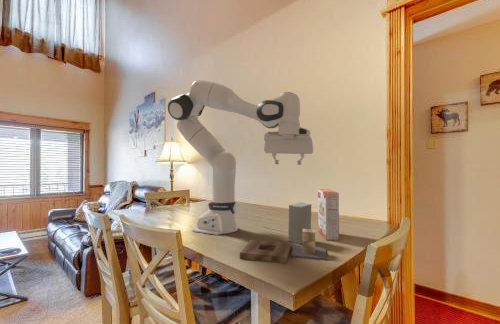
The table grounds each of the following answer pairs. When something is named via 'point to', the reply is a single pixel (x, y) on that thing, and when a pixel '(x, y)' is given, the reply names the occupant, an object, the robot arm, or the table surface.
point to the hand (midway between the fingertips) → (287, 164)
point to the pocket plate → (266, 251)
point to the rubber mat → (319, 253)
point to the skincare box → (298, 221)
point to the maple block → (308, 241)
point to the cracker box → (328, 214)
